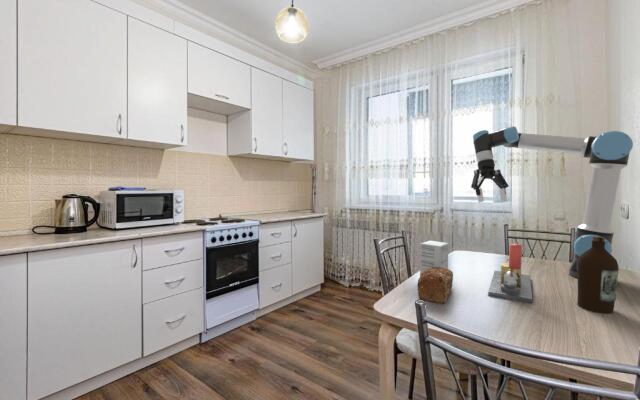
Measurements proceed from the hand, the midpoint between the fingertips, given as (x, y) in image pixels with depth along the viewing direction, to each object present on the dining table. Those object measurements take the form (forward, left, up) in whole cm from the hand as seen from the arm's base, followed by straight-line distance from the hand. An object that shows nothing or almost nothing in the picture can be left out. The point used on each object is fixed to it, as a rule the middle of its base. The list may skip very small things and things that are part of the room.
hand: (492, 201), depth 150 cm
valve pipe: (-15, +19, -34) cm, 42 cm away
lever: (-17, +25, -24) cm, 38 cm away
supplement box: (+11, +35, -35) cm, 51 cm away
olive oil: (-41, +22, -35) cm, 58 cm away
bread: (+2, +51, -35) cm, 62 cm away
